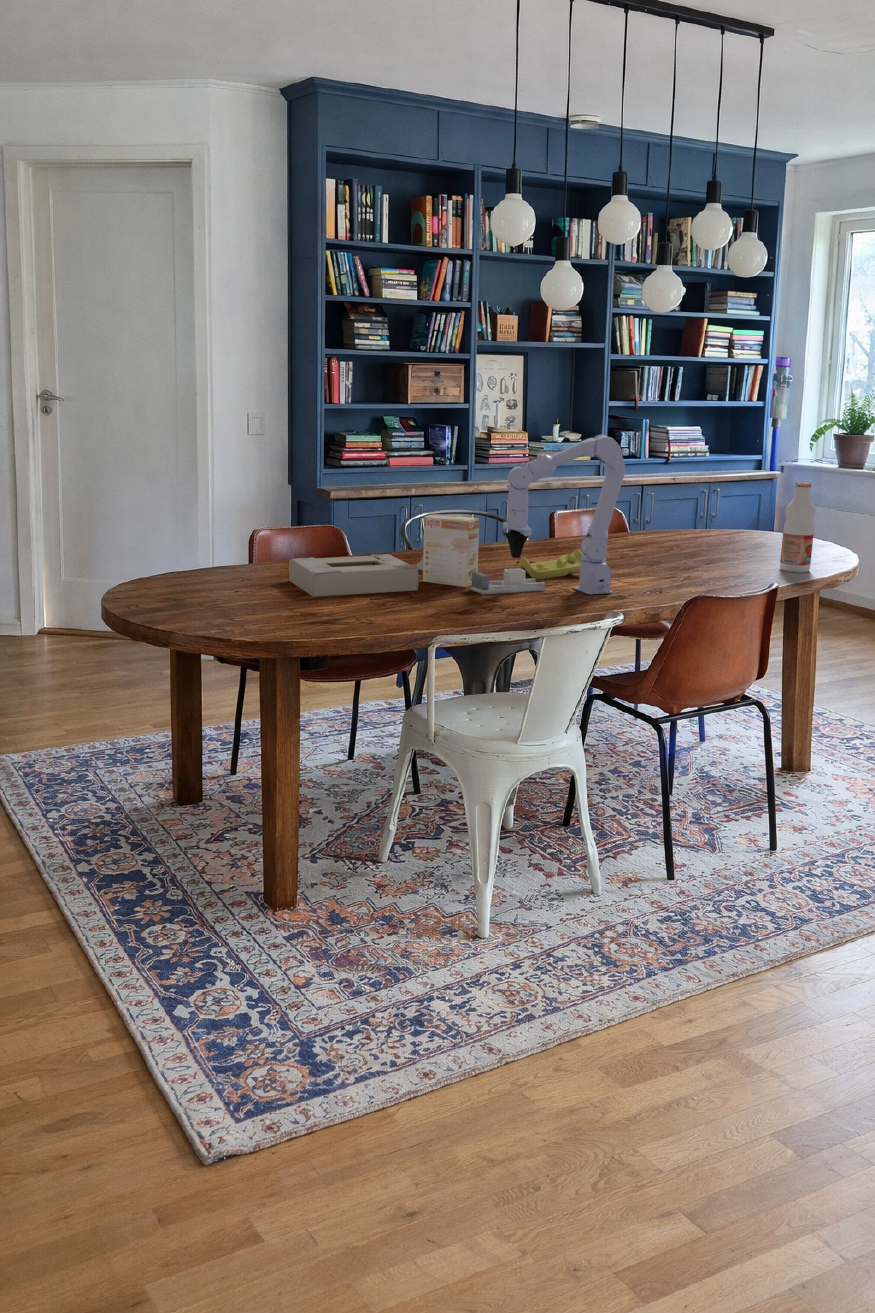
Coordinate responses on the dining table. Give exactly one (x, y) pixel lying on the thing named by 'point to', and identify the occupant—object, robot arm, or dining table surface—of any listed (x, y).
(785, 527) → the fruit juice
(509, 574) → the block
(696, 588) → the dining table surface
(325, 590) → the box
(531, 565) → the plastic component
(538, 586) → the rail
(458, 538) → the coffeecake box
